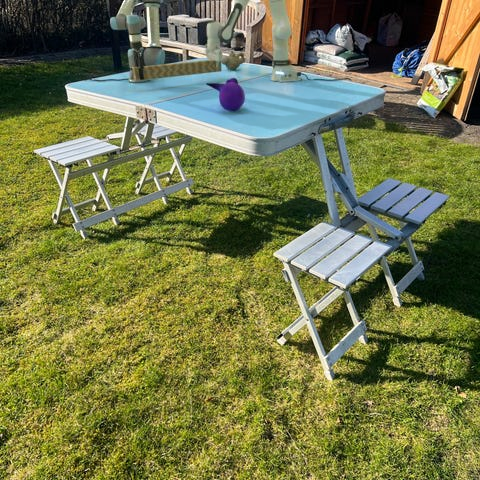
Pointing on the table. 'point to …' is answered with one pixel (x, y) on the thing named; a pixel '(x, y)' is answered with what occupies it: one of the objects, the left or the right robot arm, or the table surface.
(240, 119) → the table surface
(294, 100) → the table surface
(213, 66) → the bar
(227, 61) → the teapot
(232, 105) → the toy
